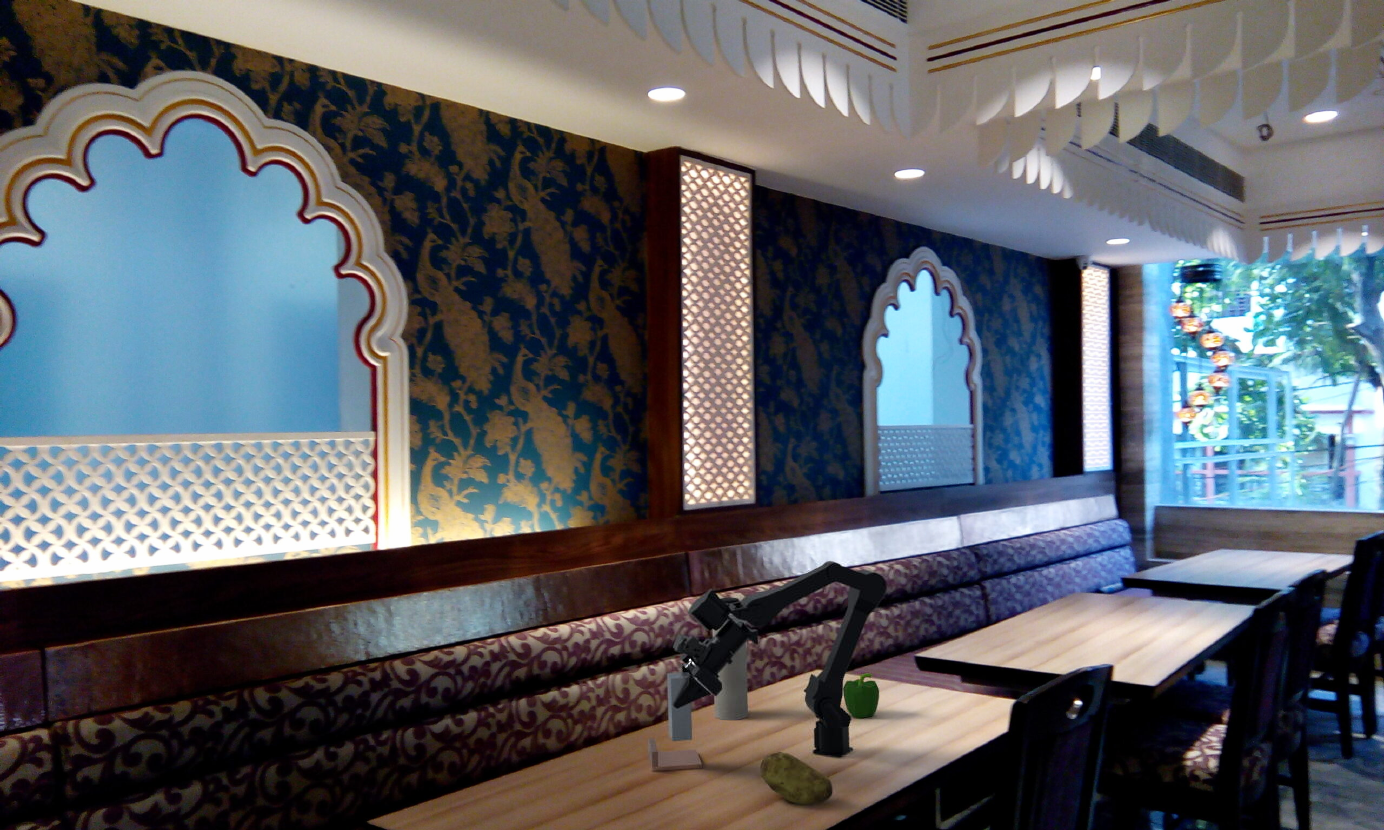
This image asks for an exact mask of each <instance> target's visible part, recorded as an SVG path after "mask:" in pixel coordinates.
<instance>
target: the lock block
mask: <svg viewBox="0 0 1384 830" xmlns="http://www.w3.org/2000/svg"><path fill="white" fill-rule="evenodd" d="M666 677H667V678H666V679H667V707H668V708H667V710H668V712H667V713H668V718H667V719H668V735H669V737H670V739H671V741H672V742H681V741H692V740H693V725H692V721H693V720H692V702H691V703H689V704H687V705H685V706H682V707H680V708H678V709H676V708H675V707H674V706H673V704H674V703H675V701H676V699H677V698H678V696H679V695H680V693H681V692H682V690H683V689H684V687H685V686H686V684H687V682H688V680H687V672H668V673H667V674H666Z"/></svg>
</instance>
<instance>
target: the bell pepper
mask: <svg viewBox="0 0 1384 830" xmlns="http://www.w3.org/2000/svg"><path fill="white" fill-rule="evenodd" d="M872 676H873V675H872V673H869V672H867V673H863V674H862V675H861V676H860V677H859V678H857V679H855V680H846V681H845V683H844V684H843V699H844V703H845V707H846V710H847V713H848V714H849V715H850V716H851V717H852V718H858V719H860V718H861V719H862V718H867V717H871V716H872V717H873V716H875V714H876V712H877V709H878V705H879V699H880V688H879V686H878V684H877V682H876V680H866V681H864V680H865V679H866V678H870V679H871V678H872Z"/></svg>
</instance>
